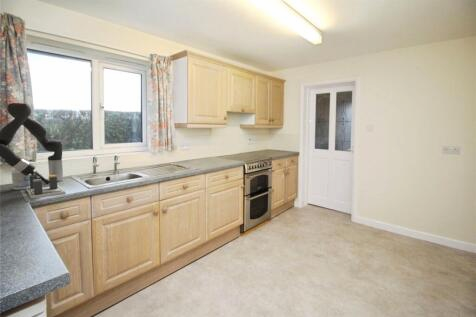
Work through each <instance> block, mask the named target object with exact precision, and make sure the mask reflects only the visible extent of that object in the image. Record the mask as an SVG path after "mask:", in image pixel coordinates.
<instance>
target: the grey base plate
mask: <svg viewBox="0 0 476 317" xmlns="http://www.w3.org/2000/svg"><path fill="white" fill-rule="evenodd" d="M29 178H30V187H29V188H26V189H25V190H26V192H27V193H28V195H29V197H30V199H36V198H42V197H43V198H44V197H52V196H58V195H65V194H66V191H65V190H64V189H63V188H62V187H61V186H60V185H59V184H58V183H57V188H54V189H50V187H49V184H46V185H43V181H42V179H36V178H34V177H32V176H31V174H29Z"/></svg>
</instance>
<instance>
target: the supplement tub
mask: <svg viewBox="0 0 476 317" xmlns="http://www.w3.org/2000/svg"><path fill="white" fill-rule="evenodd" d="M29 175H30V174H29ZM29 175H28V176H25V175H24V174H22V173H20V172H19V171H17V170H16V169H14V168H13V167H12V168H11V179H12V180H11V181H12V182H11V183H12V189H13V190H15V191H16V190H17V191H18V190H27V189H26V188H30V178H29Z"/></svg>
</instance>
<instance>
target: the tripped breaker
mask: <svg viewBox="0 0 476 317" xmlns="http://www.w3.org/2000/svg"><path fill="white" fill-rule="evenodd" d="M48 181H49V182H50V183H49V184H48V185H49V187H50V189H54V188H57V184H58V181H57V175H49V174H48Z"/></svg>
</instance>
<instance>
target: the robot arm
mask: <svg viewBox="0 0 476 317" xmlns="http://www.w3.org/2000/svg"><path fill="white" fill-rule="evenodd" d="M6 108H7V109H6V110H7V112H8V114H9V115H10V116H11V117H12V118H13V120H11V121H10V122H9V123H6V125H4V126H3V127H2V128H1V129H0V157H1V158H2V159H3V160H4V163H6V164H7V165H8V166H10V167H12V169H13V168H14V169H16V170H17V171H19V172H20V173H22V174H24V175H25V176H28V175H30V174H31V176H32V177H34V178H36V179H42V183H44V184H46V185H49V183H50V182H49V179H46V178H45V177H44V176H43V175H42V174H40V173H39V172H38V171H37V170H36V166H34V165H33V164H31V163H30V162H28V161H27V160H26V159H23V158H22V157H20V156H19V155H17V154H15V152H14V151H13V150H11V149H10V148H9V146H8V145H9V144H11V143H12V141H13V139H14V137H15V135H16V133H17V132H18V131H19V129H20V128H21V127H22V126H23V127H24V128H25V129H26V130H27V131H28V132H29V133H30V134H31V135H32V136H33V137H35V139H36V140H37V141H38V142H39V143H40V145H41V146H42V147H43V148H44V150H45V151H47V152H49V153H50V152H52V153H53V154H52V155H49V156H47V162H48V163H47V164H48V176H49V175H57V182H61V181H64V173H63V144H62V141H60V140H58V139H49V138H48V137H47V133H48V132H47V129H46V127H44V125H43V124H42V123H41V122H39V121H37V120H36V119H34V118H32V117H30V116H31V114H32V108H31V106H30V105H29V104H27V103H22V102H21V103H20V102H11V103H9V104H7V107H6ZM35 170H36V171H35Z"/></svg>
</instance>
